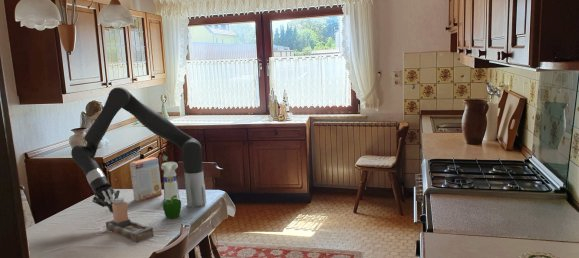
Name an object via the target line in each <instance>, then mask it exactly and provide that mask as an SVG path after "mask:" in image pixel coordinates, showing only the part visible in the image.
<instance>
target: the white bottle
mask: <svg viewBox="0 0 579 258" xmlns="http://www.w3.org/2000/svg"><path fill="white" fill-rule="evenodd" d="M161 158H162V161H163V163H162V164H161V166H160V169H161V170H162V171H163V174H162V177H163V193H164V194H163V197H164V198H163V199H164V202H165V201H166V200H171V198H172V197H173V196H175V195H176V196H177V197H175V198H173V199H178V200H180V195H179V184H178V180H177V173H176V170H177V169H178V166H179V165H178V163H177V162H176V161H168V158H169V157H168V156H166V154H164V155H163V156H162V157H161ZM164 161H166V162H164Z"/></svg>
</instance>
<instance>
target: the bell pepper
mask: <svg viewBox="0 0 579 258" xmlns="http://www.w3.org/2000/svg"><path fill="white" fill-rule="evenodd" d="M175 197H177V196H176V195H175V196H173V197H172V198H171V200H166V201H165V200H164V201H163V202H162V209H163V212H164V215H165V217H166V218H167V219H171V220H172V219H176V218H178V217H179V216H180V214H181V212H182V211H181V210H182V201H181V199H173V198H175Z"/></svg>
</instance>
